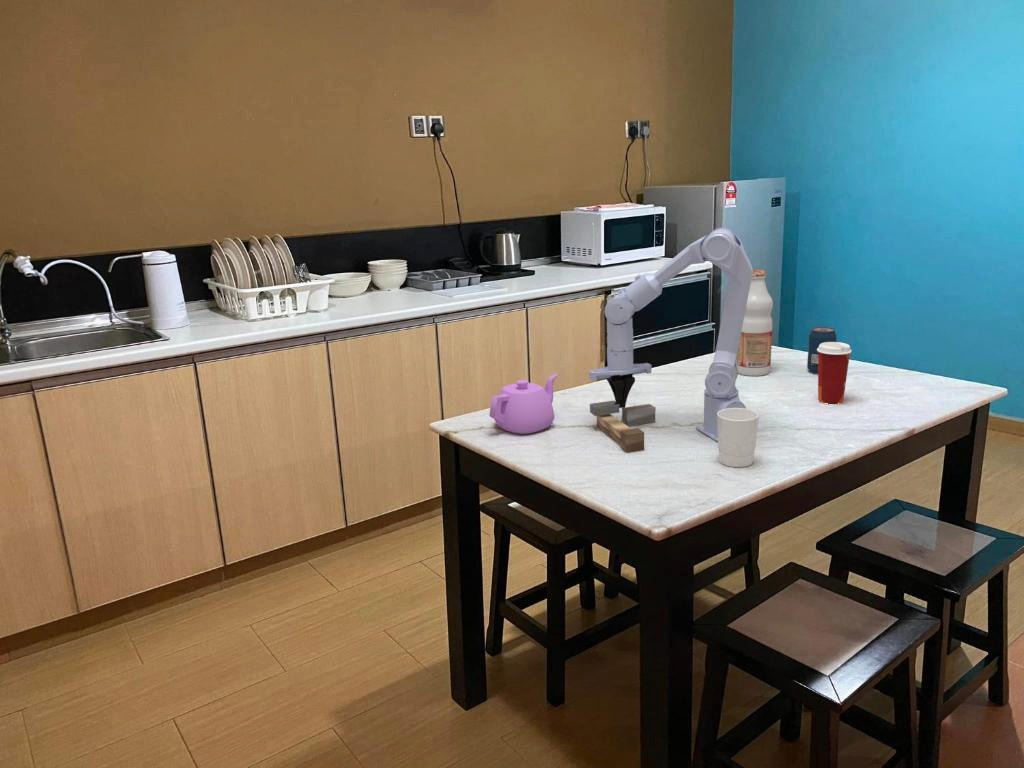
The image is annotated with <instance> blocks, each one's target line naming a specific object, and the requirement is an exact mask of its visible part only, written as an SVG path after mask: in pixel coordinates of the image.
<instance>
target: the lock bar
mask: <svg viewBox="0 0 1024 768" xmlns="http://www.w3.org/2000/svg"><path fill="white" fill-rule="evenodd" d="M589 413H590V414H592V415H593V416H595V417H597V416H599V415H606V414H611V415H612V414H618V413H620V408H619V403H617V402H616V401H615V399H613V400H607V401H601V402H600V401H599V402H593V403H592V402H591V403H589Z"/></svg>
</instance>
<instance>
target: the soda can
mask: <svg viewBox="0 0 1024 768" xmlns="http://www.w3.org/2000/svg"><path fill="white" fill-rule="evenodd" d="M825 342H837V334H836V331H835V328H833V327H830V326H829V327H828V326H816V327H812V328H811V331H810V332H809V335H808V348H807V364H806V365H807V366H806V367H807V370H808V372H809V373H810V374H812V373H813V375H817V374H818V351H817V348H818V347H819V345H820V344H821V343H825Z"/></svg>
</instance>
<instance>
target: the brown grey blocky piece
mask: <svg viewBox="0 0 1024 768" xmlns="http://www.w3.org/2000/svg"><path fill="white" fill-rule="evenodd" d="M621 422H622V423H624V424H625V425H627V426H628V427H634V426H635V427H634V428H631V429H627V430H621V439H620V438H619V437H618V436H616V435H615V434H614V433H612V432H611V431H610V430H608V429H607V428H606V427H604V426H603V425H602V424H600V423H599V422H598V421H597V420H596V429H597V428H598V429H599V430H600V431H602V432H603V433H604V435H607V437H608V438H610V439H611V440H612V441H614V442H615V443H616V444H617V445H619V446H620V449H622V450H623V451H624V452H625V453H627V454H629V453H634V452H641V451H645V431H643V430H642V429H640V428H639V427H636V426H641V425H647V424H648V425H649V424H653V423H654V424H655V423H656V406H654V405H652V404H651V403H648V404H640V405H633V406H625V408H621Z"/></svg>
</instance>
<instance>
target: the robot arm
mask: <svg viewBox="0 0 1024 768" xmlns="http://www.w3.org/2000/svg"><path fill="white" fill-rule="evenodd" d="M706 261H708V262H710V263H711V264H713V265H715V266H716V267H718V268H720V270H721V271H722V273H724V274H725V276H726V277H727V279H728V284H727V289H726V294H725V300H724V303H723V310H722V315H721V320H720V326H719V331H718V336H717V341H716V342H717V343H716V347H715V351H714V356H713V357H714V358H713V362H712V363H711V364H710V365H709V368H708V373H707V374H706V376H705V379H704V386H705V389H704V392H703V393H704V394H703V399H704V400H703V425H702V424H701V425H696V426H695V429H696V430H698V431H700V432H702V433H703V434H705V435H706V436H707V437H709V438H710V439H712V440H714V441H716V442H718V429H717V413H718V411H720V410H723V409H727V408H744V409H747V407H746V405H745V403H743V401H741V399H740V397H739V389H737V387H736V382H737V381H736V380H737V378H738V375H739V373H738V369H737V366H736V358H737V351H738V346H739V341H740V336H741V331H742V326H743V321H744V315H745V310H746V305H747V300H748V295H749V290H750V285H751V280H752V275H753V270H754V268H753V266H752V264H751V261H750V259H749V257H748V255H747V253H746V251H745V248H744V245H743V243H742V240H741V238H739V237H738V236H737V234H735V233H734V231H732V230H731V229H728V228H727V227H718V228H714V229H713V230H712V231H711V232H709V234H707V235H704V236H702V237H701V238H699V239H697V240H695V241H694V242H692V243H690V244H689V245H687V246H686V247H685V248H684V249H683V250H681V251H680V252H679V253H678V254H676V255H675V256H674V257H673V258H671V259H670V260H669V261H667V263H665V264H664V265H663V266H661V268H660V269H658V270H657V271H656V272H654V273H650V272H644V273H643V274H641V273H639V274H637V275H636V276H635V277H634V281H633V282H632V283H630V284H629V285H628V286H627V287H625V288H624V289H623V288H621V289H619V290H618V292H617V293H618V294H617V295H615V296H613V297H612V298H610V299H609V301H608V302H607V303H606V305H605V307H604V316H605V318H606V320H607V322H606V323H607V330H606V332H607V333H606V336H607V337H606V338H607V339H606V341H607V342H606V343H607V366H604V367H601V368H597V369H592V370H589V371H588V379H589V381H592V382H596V381H597V380H603V379H606V381H607V383H608V384H609V387H610V388H611V391H612V393H613V396H614V401H616V402H617V403H619V409H622V408H625V407H626V404H627V401H628V397H629V395H630V394H629V393H630V392H631V389H632V387H633V385H634V384H635V382H636V377H634V375H640V374H652V364H651V363H648V362H644V363H634V328H633V315H634V314H635V312H640V311H641V310H642V309H643V308H644V307H646V306H647V305H648V304H650V303H651V302H652V301H654V300H655V299H656V298H658V297H660V295H662V292H663V286H664V285H665V284H666V283H668V282H669V281H670V280H672V279H673V278H675V277H676V276H677V275H679V274H680V273H682V272H683V271H684V270H686V269H687V268H689V267H690V266H691V265H695V264H696V265H697V264H705V262H706Z"/></svg>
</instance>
